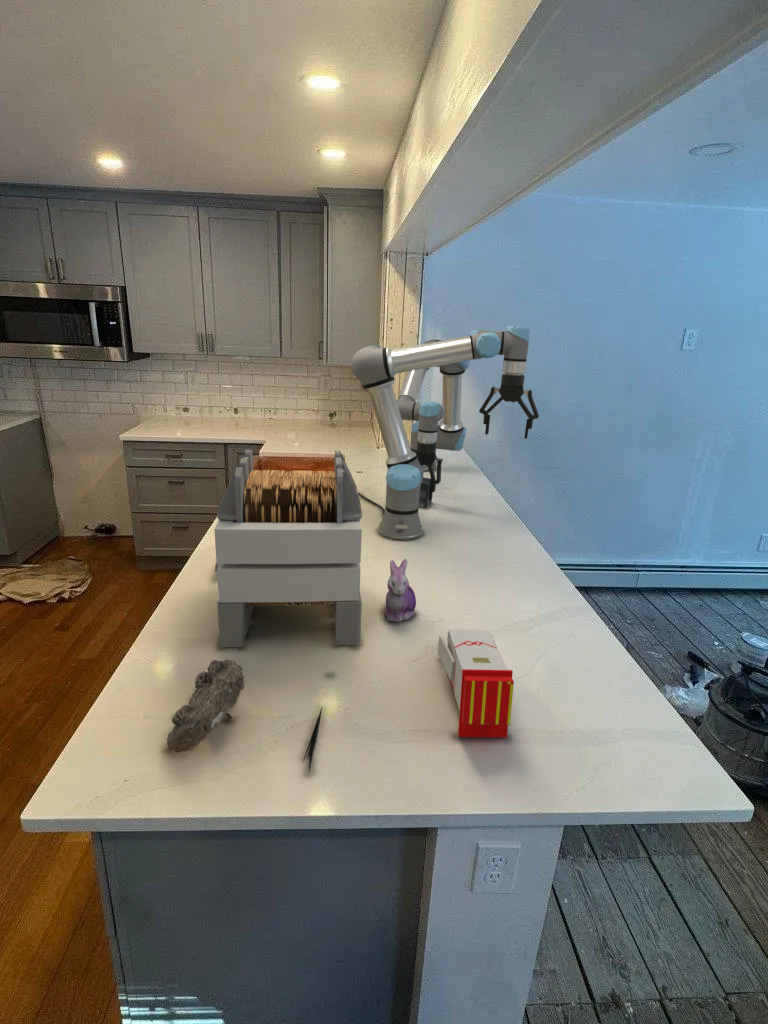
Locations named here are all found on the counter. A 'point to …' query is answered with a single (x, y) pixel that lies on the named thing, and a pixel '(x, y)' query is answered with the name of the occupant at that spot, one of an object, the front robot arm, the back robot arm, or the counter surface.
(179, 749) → the fossil
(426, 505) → the box
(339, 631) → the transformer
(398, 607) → the figurine
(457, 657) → the toy
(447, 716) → the counter surface
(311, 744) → the feather
